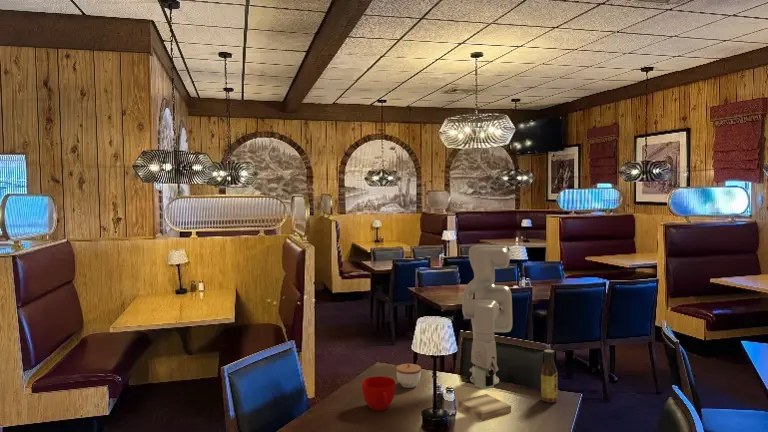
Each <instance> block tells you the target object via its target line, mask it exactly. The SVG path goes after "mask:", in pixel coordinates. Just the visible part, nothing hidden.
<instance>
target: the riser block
mask: <svg viewBox="0 0 768 432" xmlns="http://www.w3.org/2000/svg"><path fill="white" fill-rule="evenodd" d="M458 408H459V409H461V410H462V411H464V412H466V413H468V414H470V415H471V416H473V417H475V418H477V419H479V420H480V421H485V420H488V419H492V418H495V417H500V416H502V415H506V414H510V413H512V405H510V404H508V403H506V402H504V401H502V400H499V399H498V398H497V397H494V396H492V395H489V394H488V393H485V394H480V395H476V396H473V397H469V398H465V399H462V400H458Z"/></svg>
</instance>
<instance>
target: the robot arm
mask: <svg viewBox="0 0 768 432" xmlns="http://www.w3.org/2000/svg"><path fill="white" fill-rule="evenodd" d="M468 258H469V262H470V263H469V264H470V266H471V269H472V270H473V271H472V272H473V276H474V277H473V279H472V280H471V281H469V283H467V284H466V286H465V288H464V290H463V293H462V303H461V304H462V307H461V309H462V310H461V311H462V315H463V316H464V318H466V319H470V321H471V327H472V334H473V335H472V338H473V339H472V344H471V355H470V356H471V357H470V362H471V363H472V364H473V365H472V367H470V368H469V372H470V373H471V374H472V375H471V376H470V377H469V381H470V382H471V383H472V384H474V385H475V368H476V367H482V368H484V369H486V373H487V376H486V386H487V387H488V386H492V385H493V375H494V386H496V385H497V384H499V382H500V378H499V377H498V376H497V375H496V373H497V372H498V371H499V367H498V365H497V361H498V360H497V355H498V354H497V348H496V347H497V343H496V341H495V333H509V332H511V330H512V329H513V300H512V299H513V298H512V297H513V296H512V291H511V289H510V287H509V286H507V285H501V284H500V285H499V284H498V285H497V284H495V282H496V281H495V280H496V273H495V271H496V269H505V268H508V267H509V265H510V258H511V257H510V251H509V247H508V246H507V245H505V244H475V245H471V246H470V247H469V249H468ZM473 294H474V298H472V299H471V298H470V297H472V295H473ZM489 369H491V371H490V372H489Z"/></svg>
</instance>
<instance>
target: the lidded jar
mask: <svg viewBox="0 0 768 432" xmlns="http://www.w3.org/2000/svg"><path fill="white" fill-rule="evenodd" d="M395 368H396V369H395V370H396V379H397V381H398V383H399V384H400V385H401V386H402V388H407V389H410V388H415V387H417V385H418V384H419V382H420V380H421V376H422V366H420V365H419V364H416V363H415V364H414V363H401V364H398V365H397V366H396V367H395Z"/></svg>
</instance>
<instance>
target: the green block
mask: <svg viewBox="0 0 768 432" xmlns="http://www.w3.org/2000/svg"><path fill="white" fill-rule="evenodd" d="M490 371H491V369H489V372H490ZM486 376H487V373H486V369H484V368H482V367H476V368H475V384H474V386H475V387H477V388H479V389H482V390H483V391H484V390H487V389H493V388H495V385H494V375H493V385H492V386H488V387H487V386H486Z"/></svg>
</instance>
